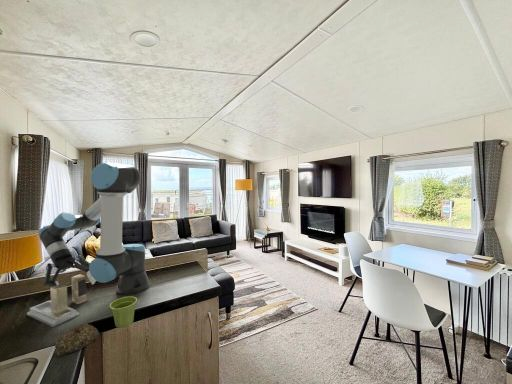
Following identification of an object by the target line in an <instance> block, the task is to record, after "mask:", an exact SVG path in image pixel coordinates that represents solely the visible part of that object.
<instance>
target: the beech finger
mask: <svg viewBox="0 0 512 384" xmlns="http://www.w3.org/2000/svg"><path fill="white" fill-rule="evenodd" d="M86 276H87V275H84V274H77V275H74V276H71V300H72V303H73V304H77V305H80V304H82V303H85V302H87V280H86V279H87V277H86Z"/></svg>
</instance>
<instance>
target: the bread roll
mask: <svg viewBox="0 0 512 384" xmlns="http://www.w3.org/2000/svg"><path fill="white" fill-rule="evenodd" d="M99 337H100V332H99V330H98V329H97V328H96V327H95V326H94V325H92V324H89V323H88V324H87V323H85V324H80V325H76V326H75V327H73V328H72V329H70V330H69V331H67V332H66V333H64V335H62V336H61V337H58V338H57V341H56V342H55V345H54V349H55V350H54V351H53V355H55V356H58V357H59V356H63V355H67V353H68V354H70V353H74V352H77V351H78V350H81V349H83V348H86V347H87V346H90V345H92V344H94V343H96V342H97V341H99V339H100V338H99Z"/></svg>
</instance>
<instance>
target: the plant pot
mask: <svg viewBox="0 0 512 384" xmlns="http://www.w3.org/2000/svg"><path fill="white" fill-rule="evenodd" d="M137 302H138V297H135V296H123V297H120V298H117V299H115V300H113V301H112V302H111V303H110V304H109V309H110V310H111V312H112V315H113V321H114V324H115V325H114V326H115V327H116V328H118V329H124V328H126V327H128V326H130V325H132V324H133V323H134V319H135V318H134V317H135V310H136V309H135V307H136V304H137Z"/></svg>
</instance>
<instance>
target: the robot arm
mask: <svg viewBox="0 0 512 384" xmlns="http://www.w3.org/2000/svg"><path fill="white" fill-rule="evenodd" d="M141 179H142V175H141V172H140V171H139V169H138V168H136V167H135V166H133V165H131V164H123V163H117V162H116V163H114V162H102V163H99V164H97V165H95V167H94V168H93V169H92V170H91V173H90V182H91V184H92V186H93V187H94V188H95V189H97V191H96V193H97V194H98V195H100V197H99V198H98V199H97V200H96V201H94V203H92V204H91V205H90V206H89V207H88V208H87V209H86V210H85V211H84V212H83V213H80V214H73V213H71V212H66V211H65V212H61V213H59V214H58V215H57V217H55V218H54V219H53V221H52V222H51V223H50V224H47V225H44V226H43V227H42V228H39V229H38V232H37V235H38V238H39V240H40V241H41V243H42V245H43V247H44V248H45V251H46V252H47V254H48V256H49V257H50V260H51V262H52V263H51V262H49V263H47V264H46V266H45V269H46V272H45V273H46V274H45V278H44V282H43V286H48V287H53V286H56V285H59V284H60V283H59V281H58V280H57V278H58V276H59V275H60V272H61V271H66V270H67V269H68V270H70V269H77V270H79V271H83V272H85V273H86V276H87V278H88V280H89V281H90V283H91V285H94V284H95V283H96V282H98V283H108V282H111V281H113V280H115V279H116V278H119V279H118V282H117V285H116V293H118V294H121V295H132V294H138V293H140V292H142V291H145V290H146V289H147V288H149V287H150V279H149V277H148V275H147V272H146V248H145V245H143V244H140V243H126V244H123V214H124V197H125V196H126V195H127V194H131V193H132V192H134V191H135V190H136V189H137V187H138V186H139V185H140V183H141ZM99 223H100V234H99V235H100V237H99V242H100V243H99V244H100V245H99V248H98V250H96V251H95V258H94V259H92V260H91V262H89V261H88V260H86V259H84V258H83V257H82V256H81V255H77V256H76V257H74V256H73V254H72V252H71V251H70V249H69V246H68V245H67V243H66V241H65V240H64V236H65V235H66V234H67V233H68V232H71V231H75V230H76V231H77V230H79V229H86V228H91V227H95V226H97V225H98V224H99ZM53 268H55V269H56V271H55V273H54V275H53V277H52V279H51V276H52V270H53Z"/></svg>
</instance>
